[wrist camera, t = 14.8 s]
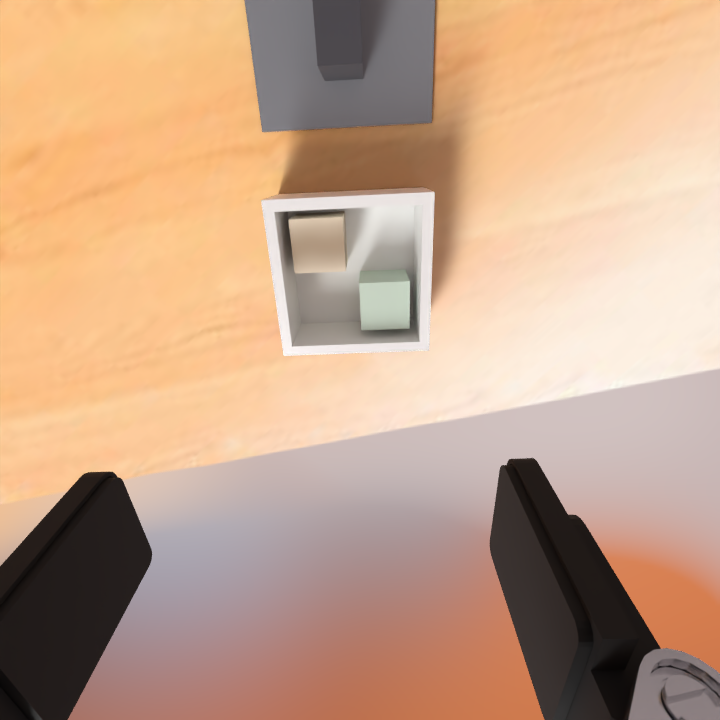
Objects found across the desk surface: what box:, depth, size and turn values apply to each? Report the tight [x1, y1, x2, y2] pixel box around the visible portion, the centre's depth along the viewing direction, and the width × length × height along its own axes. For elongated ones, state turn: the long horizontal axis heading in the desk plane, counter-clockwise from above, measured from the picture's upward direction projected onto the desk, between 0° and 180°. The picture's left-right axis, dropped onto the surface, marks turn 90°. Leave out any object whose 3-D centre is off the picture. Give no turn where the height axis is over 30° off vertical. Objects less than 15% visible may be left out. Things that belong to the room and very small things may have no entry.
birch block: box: [288, 211, 348, 273], centre depth 32 cm, size 4×4×4 cm
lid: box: [245, 0, 435, 132], centre depth 26 cm, size 13×13×6 cm
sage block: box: [359, 269, 410, 330], centre depth 34 cm, size 4×4×4 cm
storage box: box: [261, 187, 435, 356], centre depth 33 cm, size 12×12×6 cm
